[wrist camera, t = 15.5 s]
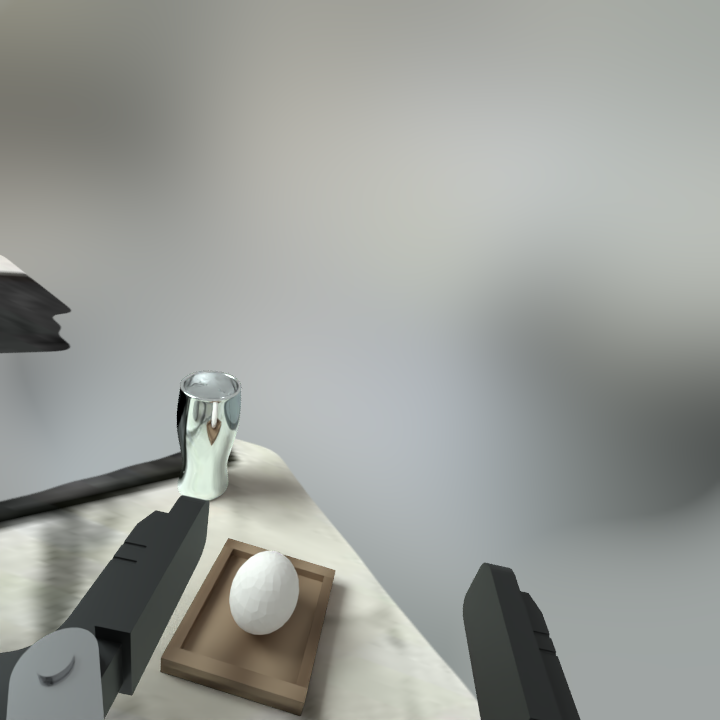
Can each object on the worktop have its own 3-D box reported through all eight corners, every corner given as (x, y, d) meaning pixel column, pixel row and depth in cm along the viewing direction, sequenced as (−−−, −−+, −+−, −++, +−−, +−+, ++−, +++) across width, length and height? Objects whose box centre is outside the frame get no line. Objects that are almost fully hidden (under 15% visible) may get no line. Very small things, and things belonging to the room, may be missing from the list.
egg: (211, 621, 36) (218, 565, 33) (259, 574, 41) (268, 521, 38) (261, 668, 33) (273, 612, 30) (305, 611, 38) (319, 559, 35)
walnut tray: (160, 671, 32) (161, 657, 32) (226, 550, 43) (228, 538, 43) (300, 716, 32) (304, 702, 31) (331, 582, 43) (335, 570, 42)
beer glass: (187, 461, 54) (193, 364, 48) (238, 471, 54) (250, 376, 48) (163, 499, 48) (166, 393, 41) (221, 509, 48) (232, 406, 42)
